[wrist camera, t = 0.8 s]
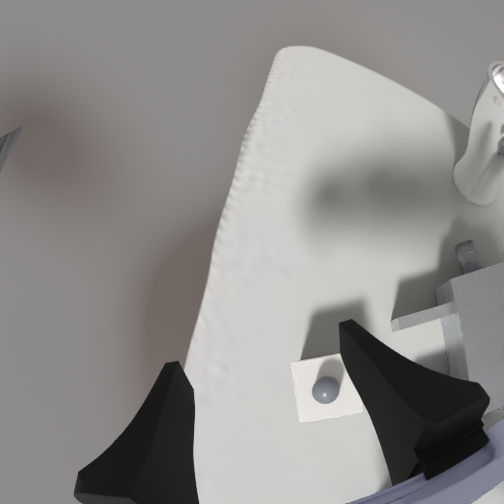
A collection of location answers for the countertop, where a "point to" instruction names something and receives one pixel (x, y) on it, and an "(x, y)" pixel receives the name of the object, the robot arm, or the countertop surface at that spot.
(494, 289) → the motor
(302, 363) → the white block
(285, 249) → the countertop surface
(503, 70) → the beer glass
